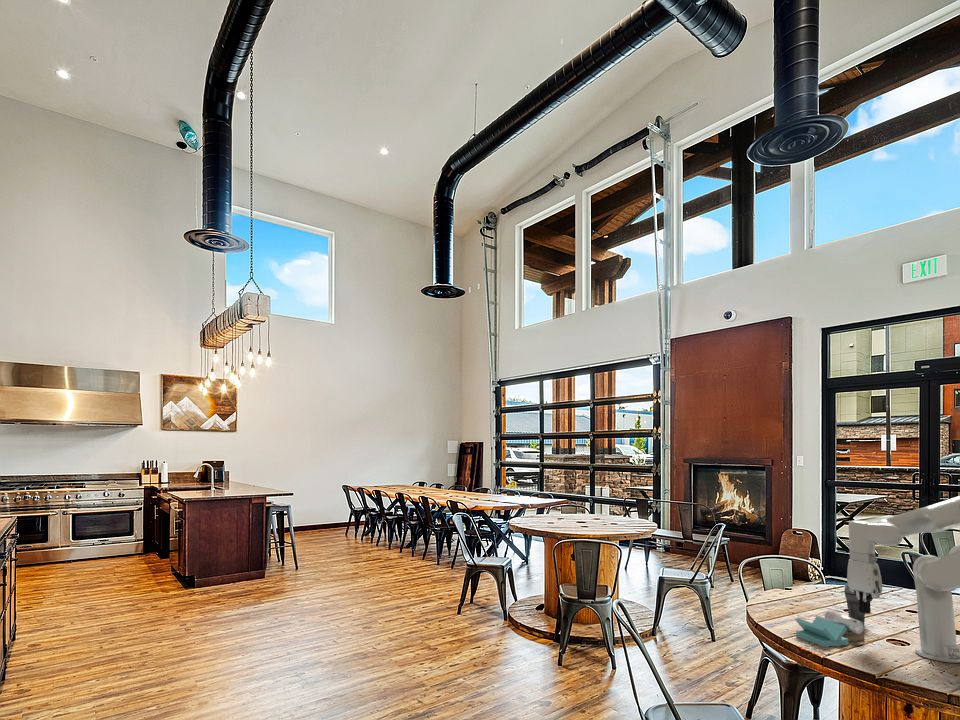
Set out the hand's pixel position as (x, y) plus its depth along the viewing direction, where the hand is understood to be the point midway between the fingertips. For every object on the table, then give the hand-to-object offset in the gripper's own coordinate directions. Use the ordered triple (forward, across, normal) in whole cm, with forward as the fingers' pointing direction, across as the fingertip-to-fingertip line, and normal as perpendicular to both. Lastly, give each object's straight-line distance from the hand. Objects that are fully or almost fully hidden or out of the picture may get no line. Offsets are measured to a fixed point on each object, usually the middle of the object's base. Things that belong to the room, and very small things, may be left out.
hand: (864, 612), depth 204 cm
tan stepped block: (+11, +10, -1) cm, 15 cm away
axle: (+8, +9, -1) cm, 12 cm away
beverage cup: (+11, +20, -19) cm, 30 cm away
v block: (+11, +8, +10) cm, 17 cm away
